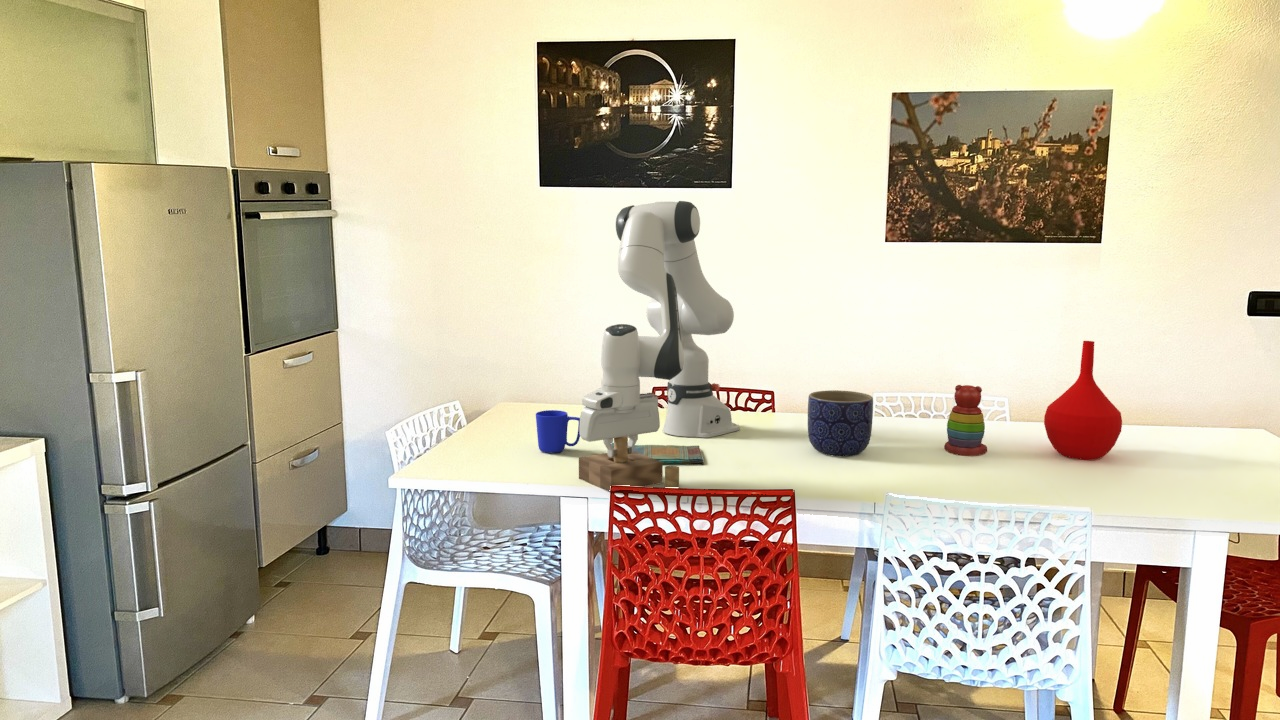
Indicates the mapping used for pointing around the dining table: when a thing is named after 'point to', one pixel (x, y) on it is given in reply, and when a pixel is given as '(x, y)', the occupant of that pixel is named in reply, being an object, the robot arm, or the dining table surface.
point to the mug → (553, 430)
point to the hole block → (620, 470)
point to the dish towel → (671, 454)
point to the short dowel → (671, 476)
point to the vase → (1083, 416)
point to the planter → (840, 422)
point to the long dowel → (621, 449)
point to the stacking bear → (966, 423)
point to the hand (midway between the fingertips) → (620, 455)
